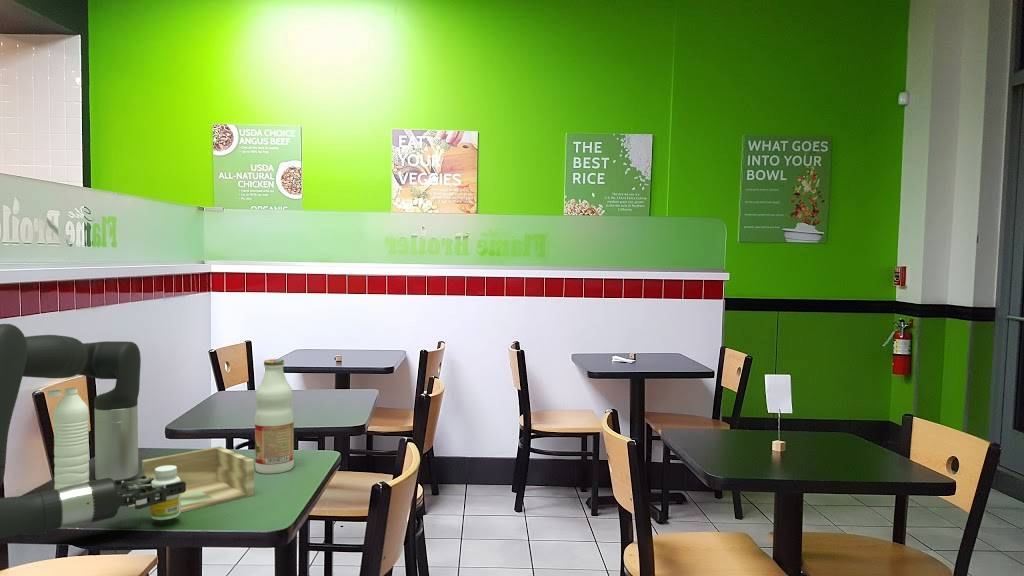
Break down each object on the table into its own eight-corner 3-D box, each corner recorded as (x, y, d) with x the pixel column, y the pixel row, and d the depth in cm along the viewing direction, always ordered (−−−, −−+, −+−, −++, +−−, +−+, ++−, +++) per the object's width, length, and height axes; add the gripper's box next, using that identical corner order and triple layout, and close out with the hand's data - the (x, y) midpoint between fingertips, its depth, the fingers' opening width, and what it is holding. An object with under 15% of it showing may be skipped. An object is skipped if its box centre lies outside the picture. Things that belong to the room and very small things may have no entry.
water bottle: (71, 495, 157) (70, 385, 157) (96, 497, 156) (95, 386, 155) (38, 508, 149) (36, 391, 148) (64, 510, 147) (63, 392, 147)
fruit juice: (278, 476, 173) (278, 363, 172) (247, 472, 176) (246, 361, 175) (301, 466, 182) (301, 358, 181) (270, 462, 185) (270, 357, 184)
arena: (142, 495, 157) (142, 460, 157) (220, 479, 170) (219, 446, 170) (173, 514, 145) (172, 476, 145) (254, 495, 158) (253, 459, 158)
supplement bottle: (157, 511, 143) (157, 464, 143) (184, 510, 144) (184, 463, 143) (146, 520, 138) (146, 472, 137) (174, 520, 138) (174, 471, 138)
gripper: (97, 491, 125) (193, 472, 137) (73, 474, 135) (165, 457, 147) (97, 533, 125) (193, 510, 138) (74, 513, 135) (165, 493, 147)
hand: (178, 483), depth 142 cm, fingers closed on supplement bottle, 5 cm apart
